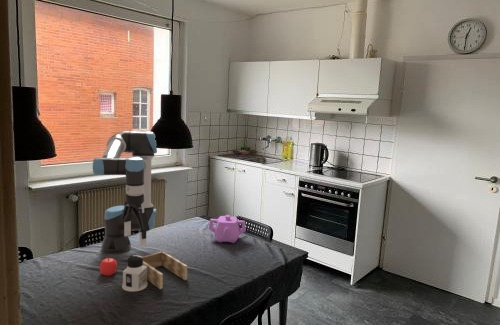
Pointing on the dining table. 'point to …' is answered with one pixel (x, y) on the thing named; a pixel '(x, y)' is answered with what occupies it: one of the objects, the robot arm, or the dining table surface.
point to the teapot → (227, 228)
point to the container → (135, 273)
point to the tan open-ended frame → (166, 262)
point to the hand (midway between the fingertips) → (135, 240)
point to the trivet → (135, 289)
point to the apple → (108, 266)
